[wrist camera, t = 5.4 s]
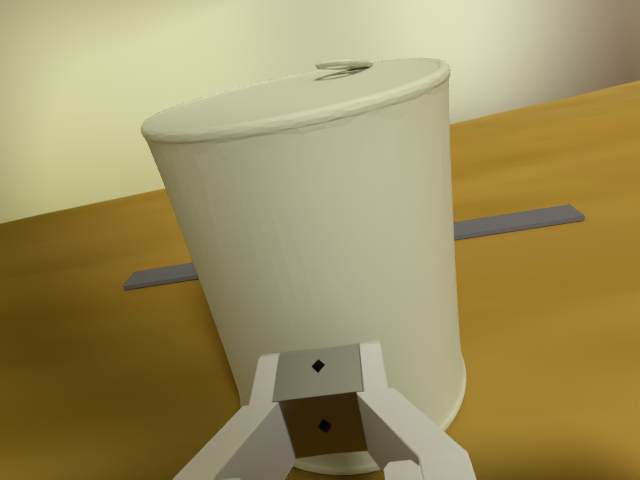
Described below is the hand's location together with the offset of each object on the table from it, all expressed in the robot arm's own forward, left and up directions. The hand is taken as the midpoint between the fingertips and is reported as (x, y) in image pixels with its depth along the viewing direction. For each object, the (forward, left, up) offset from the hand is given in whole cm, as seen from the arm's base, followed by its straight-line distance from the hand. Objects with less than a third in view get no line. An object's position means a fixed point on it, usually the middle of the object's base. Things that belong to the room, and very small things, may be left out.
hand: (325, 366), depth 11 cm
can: (0, +6, -6) cm, 8 cm away
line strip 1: (-10, +16, -6) cm, 20 cm away
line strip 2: (+11, +16, -6) cm, 20 cm away
